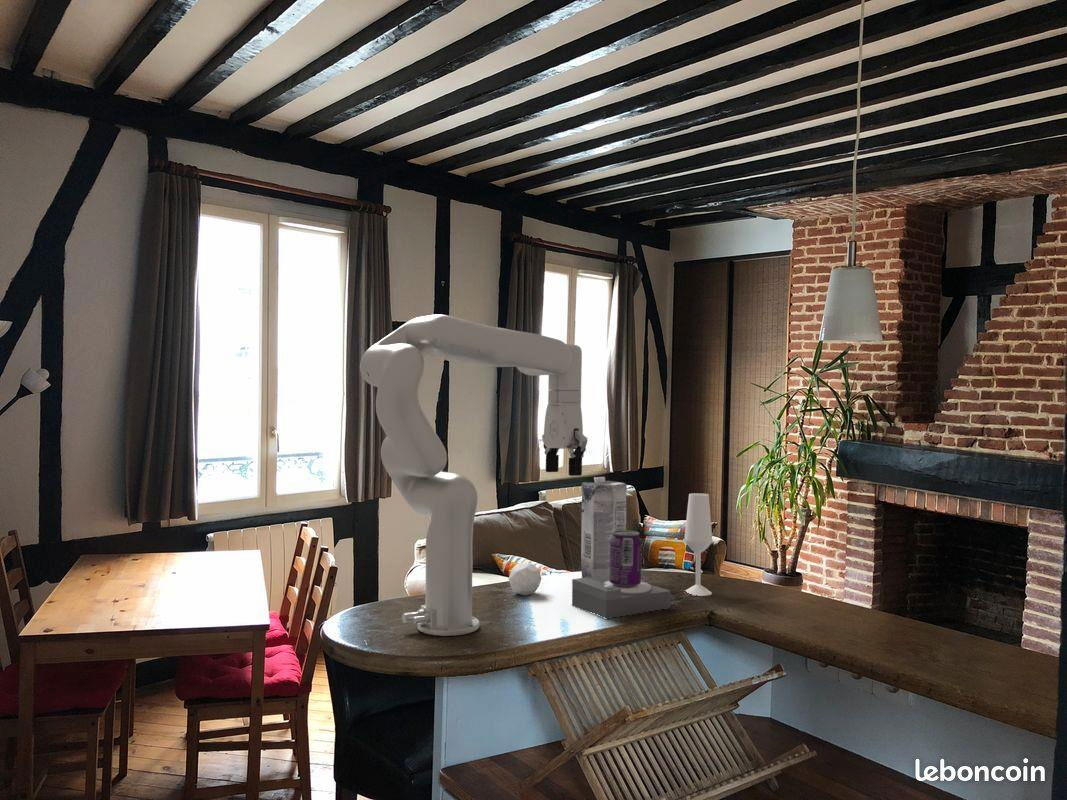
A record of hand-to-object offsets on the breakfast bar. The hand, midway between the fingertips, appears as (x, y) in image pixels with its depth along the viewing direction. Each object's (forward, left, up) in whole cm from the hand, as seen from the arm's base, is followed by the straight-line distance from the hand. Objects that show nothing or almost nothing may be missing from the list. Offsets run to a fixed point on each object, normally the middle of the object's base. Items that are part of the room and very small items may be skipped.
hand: (563, 473), depth 182 cm
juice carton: (+22, +14, -30) cm, 40 cm away
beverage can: (+12, -8, -25) cm, 29 cm away
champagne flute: (+36, -6, -30) cm, 47 cm away
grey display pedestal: (+11, -8, -30) cm, 33 cm away
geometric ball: (-2, +13, -30) cm, 33 cm away
